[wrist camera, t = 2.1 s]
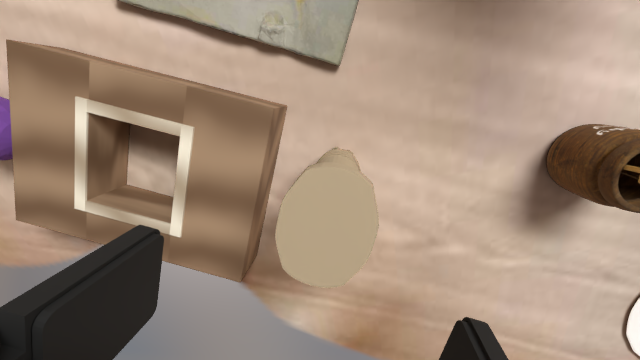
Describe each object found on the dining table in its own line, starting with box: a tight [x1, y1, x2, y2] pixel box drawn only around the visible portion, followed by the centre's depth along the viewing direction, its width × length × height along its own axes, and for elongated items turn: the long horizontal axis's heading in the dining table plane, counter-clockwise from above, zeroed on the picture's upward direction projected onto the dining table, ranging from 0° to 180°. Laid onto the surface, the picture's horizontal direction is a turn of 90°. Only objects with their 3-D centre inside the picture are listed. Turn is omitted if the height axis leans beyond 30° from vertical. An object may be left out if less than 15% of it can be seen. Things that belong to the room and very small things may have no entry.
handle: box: [275, 147, 379, 288], centre depth 22 cm, size 5×6×15 cm
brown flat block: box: [6, 40, 287, 282], centre depth 29 cm, size 16×22×5 cm
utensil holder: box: [547, 124, 640, 213], centre depth 21 cm, size 6×6×12 cm
